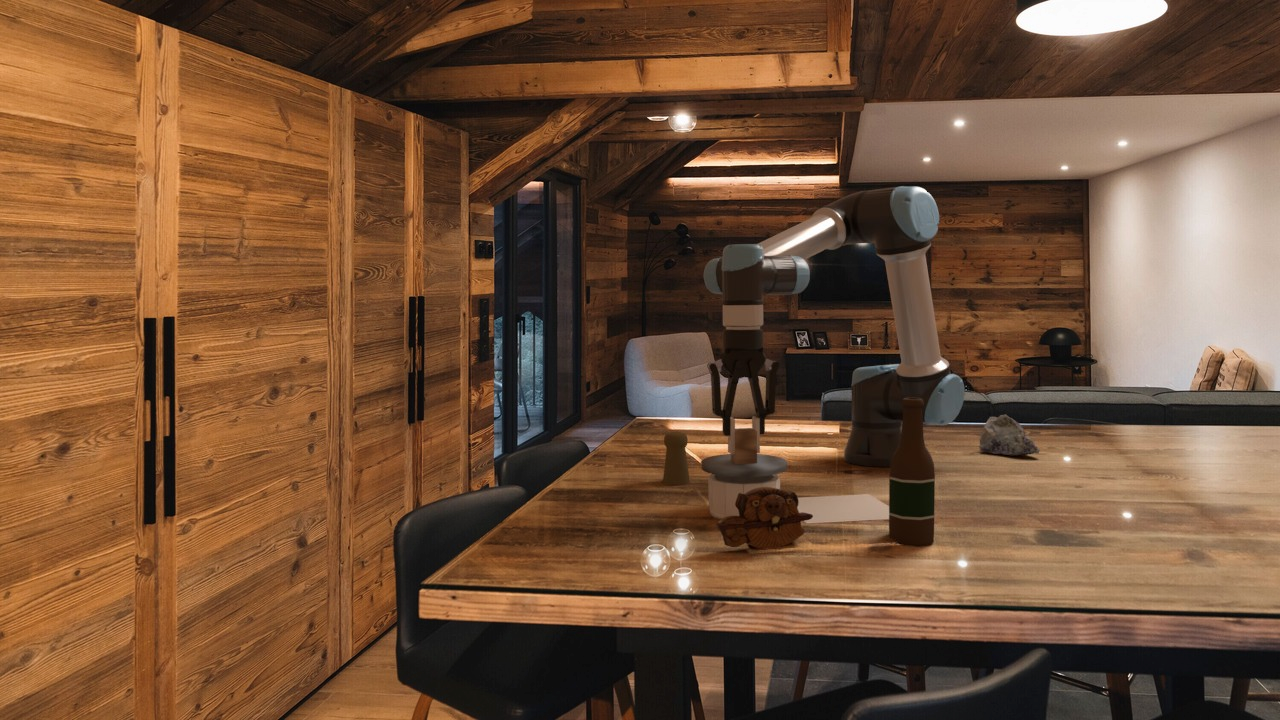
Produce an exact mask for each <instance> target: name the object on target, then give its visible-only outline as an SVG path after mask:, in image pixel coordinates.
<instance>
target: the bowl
mask: <svg viewBox="0 0 1280 720" xmlns="http://www.w3.org/2000/svg"><path fill="white" fill-rule="evenodd" d="M707 480H708V483H707V484H708V487H707V488H708V509H709V515H710V516H711V517H713V518H715V519H719V520H722V519H723V518H724V517H727V516H739V510H738V509H737V507H736V505H735V503H736V499H737V497H738V494H739V493H742V494H745V493H747V492H748V491H750V490H752V489H755V488H759V487H772V488H776V489H780V490H781V477H780V475H779V474H775V475H769V476H759V477H732V476H721V475H715V474H711V473H710V474H709V475H708V479H707Z"/></svg>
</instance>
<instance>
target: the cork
mask: <svg viewBox="0 0 1280 720" xmlns="http://www.w3.org/2000/svg"><path fill="white" fill-rule="evenodd" d="M663 444H664V446H665V448H666V452H665V459H664V460H665V461H664V466H663V467H664V468H663V477H662V484H664V485H667V486H684V485H688V484H690V483H691V479H690V472H689V465H688V459H687V458H688V457H687V451H686V448H687V445H688V444H689V443H688V436H687V434H686V433H684V432H680V431H671V432H668V433H666V434H665V435H664V438H663Z"/></svg>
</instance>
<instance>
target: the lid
mask: <svg viewBox="0 0 1280 720" xmlns="http://www.w3.org/2000/svg"><path fill="white" fill-rule="evenodd" d="M701 470H702V471H703V472H706V473H707V474H710V475H711V474H715V475H721V476H732V477H759V476H769V475H775V474H777V475H779V474H782V473H783V472H787V470H788V461H787V460H786V459H785V458H782V457H779V456H776V455H770V454H762V453H757V431H756V430H754V429H752V427H741V428H740V427H739V428H735V454H730V453H727V454H726V453H724V454H718V455H712V456H708V457H705V458H703V459H702V460H701Z"/></svg>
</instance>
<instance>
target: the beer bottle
mask: <svg viewBox="0 0 1280 720" xmlns="http://www.w3.org/2000/svg"><path fill="white" fill-rule="evenodd" d="M902 406H903V421H902V435H901V442H900V446H899V447H898V449H897V450H896V452H895V453H894V456H893V458H892V461H891V465H890V466H889V477H888V478H889V480H888V481H889V483H888V485H889V488H888V489H889V490H888V491H889V492H888V495H889V496H888V499H889V500H888V502H889V503H888V506H889V519H888V531H889V532H888V534H889V535H888V536H889V538H888V539H892V540H895V541H894V543H895V544H897V545H900V546H906V547H907V546H909V547H923V546H924V547H925V546H929V545H932V544H933V543H934V542H935V541H934V538H935V501H936V500H935V498H936V497H935V493H936V492H935V489H936V488H935V482H936V476H935V474H936V473H935V463H934V461H933V457H932V454H931V453H930V451H929V450H928V448H927V446H926V444H925V438H924V437H925V436H924V424H923V416H922V407H923V406H924V402H923V399H921V398H916V397H908V398H904V399H903V401H902Z"/></svg>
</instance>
